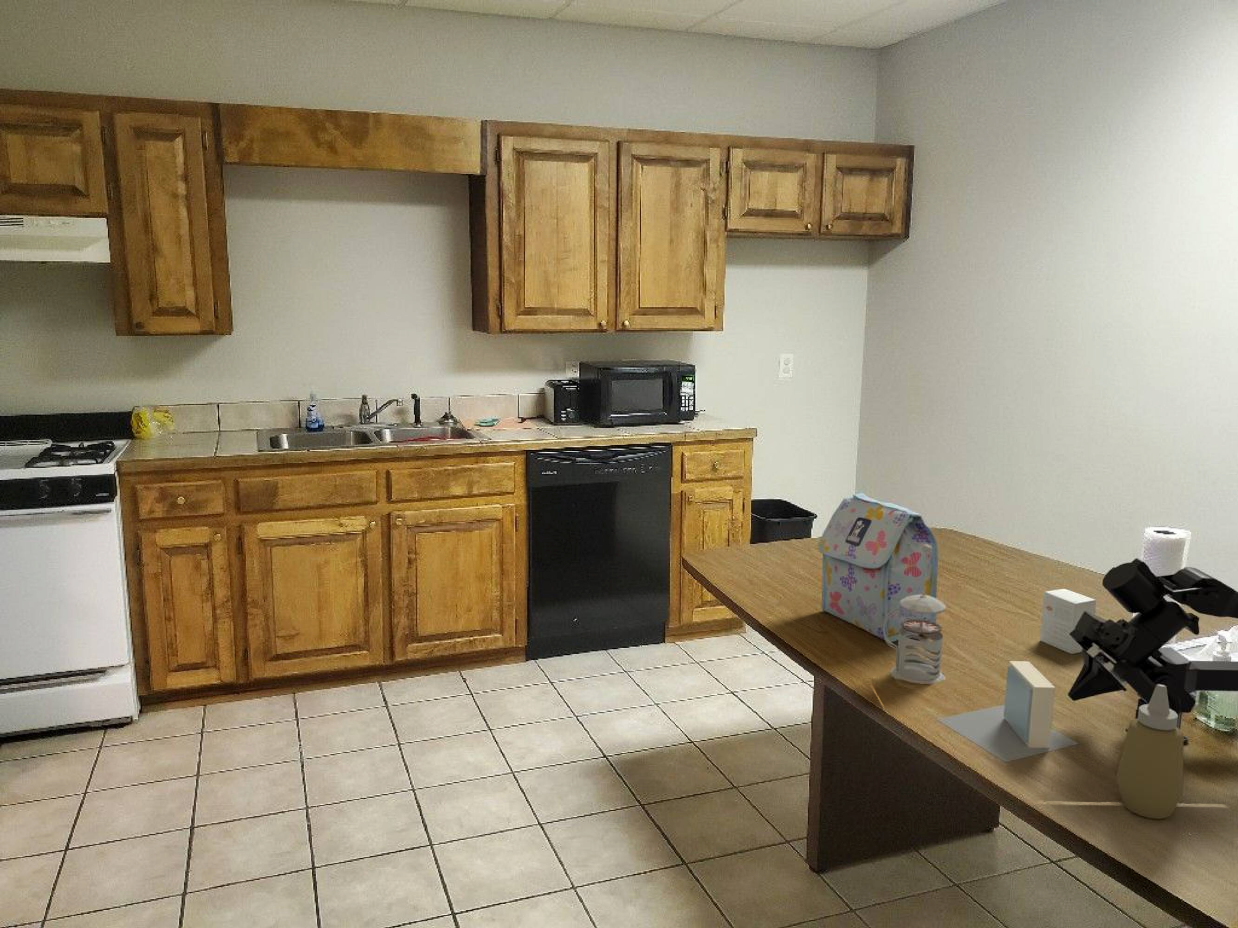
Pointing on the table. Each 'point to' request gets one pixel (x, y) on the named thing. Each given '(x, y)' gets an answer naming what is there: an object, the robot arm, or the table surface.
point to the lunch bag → (876, 564)
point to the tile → (1029, 704)
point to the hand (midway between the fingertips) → (1070, 697)
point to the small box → (1063, 618)
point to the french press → (912, 664)
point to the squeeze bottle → (1152, 760)
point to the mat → (999, 734)
